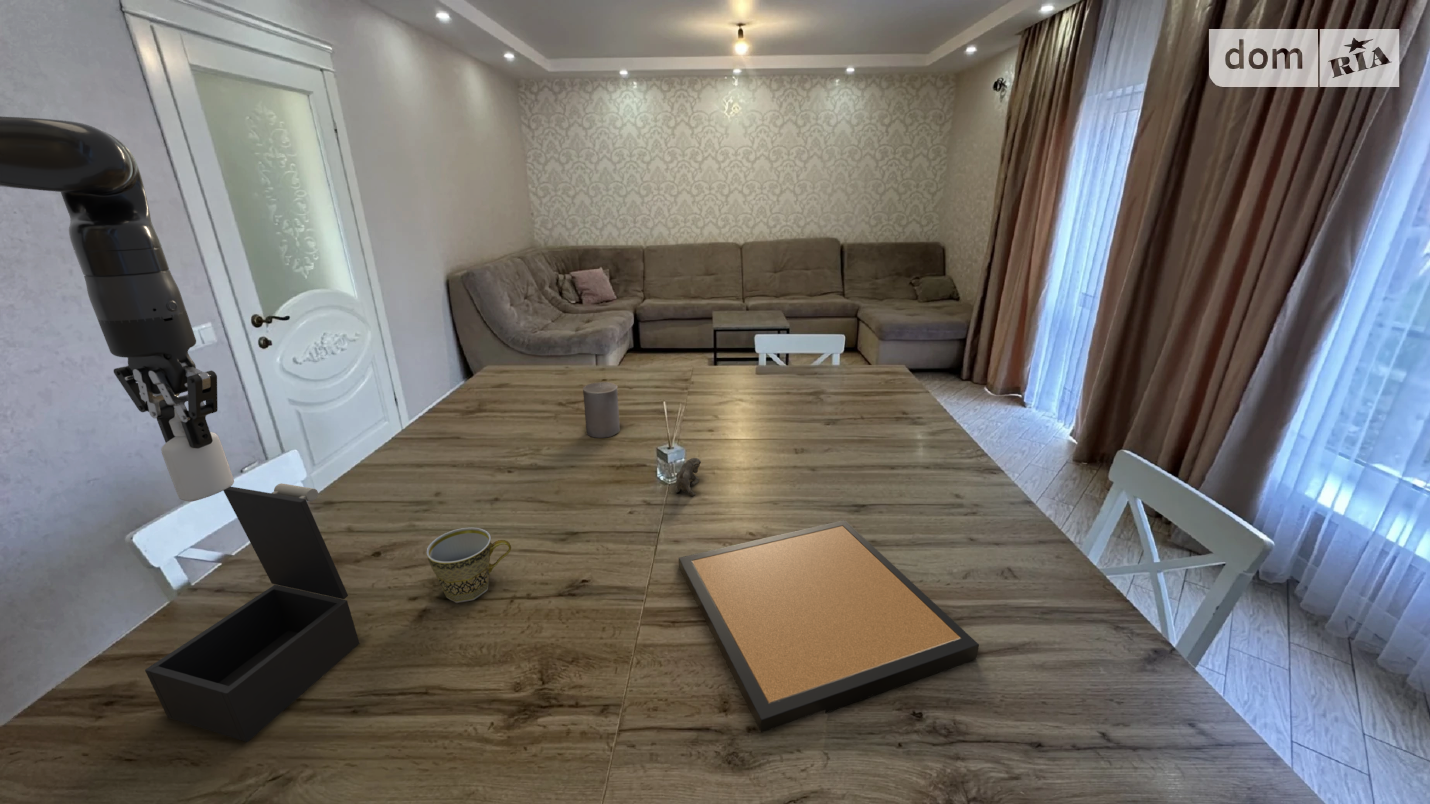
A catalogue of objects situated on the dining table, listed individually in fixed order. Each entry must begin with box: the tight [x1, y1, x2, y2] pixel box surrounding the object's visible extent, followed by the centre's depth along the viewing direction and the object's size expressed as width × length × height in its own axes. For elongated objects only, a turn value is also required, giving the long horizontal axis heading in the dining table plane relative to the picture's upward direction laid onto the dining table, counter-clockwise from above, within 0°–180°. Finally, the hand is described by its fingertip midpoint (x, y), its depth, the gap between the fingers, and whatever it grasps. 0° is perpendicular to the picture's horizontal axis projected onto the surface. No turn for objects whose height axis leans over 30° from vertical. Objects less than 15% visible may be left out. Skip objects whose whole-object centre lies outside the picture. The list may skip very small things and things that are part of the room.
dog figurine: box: [675, 457, 702, 497], centre depth 129 cm, size 12×6×7 cm, turn 167°
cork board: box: [678, 519, 980, 733], centre depth 91 cm, size 36×3×35 cm
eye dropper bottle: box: [160, 409, 235, 503], centre depth 71 cm, size 4×6×12 cm
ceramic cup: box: [425, 527, 512, 604], centre depth 94 cm, size 13×10×10 cm
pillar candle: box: [582, 381, 621, 439], centre depth 158 cm, size 10×10×15 cm
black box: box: [144, 584, 360, 743], centre depth 77 cm, size 17×14×9 cm
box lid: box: [222, 482, 349, 600], centre depth 81 cm, size 18×14×5 cm
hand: (190, 443), depth 71 cm, fingers closed on eye dropper bottle, 3 cm apart
